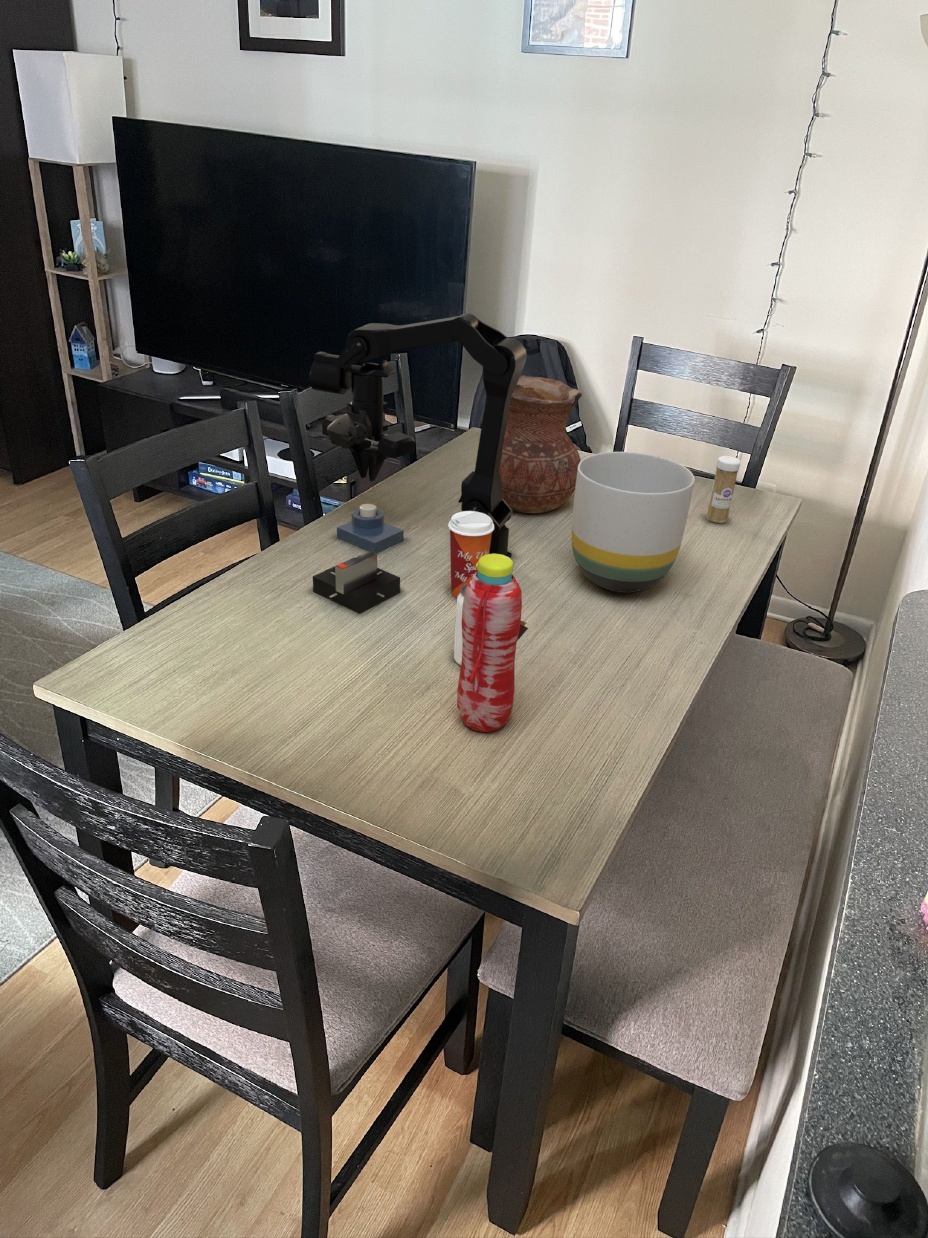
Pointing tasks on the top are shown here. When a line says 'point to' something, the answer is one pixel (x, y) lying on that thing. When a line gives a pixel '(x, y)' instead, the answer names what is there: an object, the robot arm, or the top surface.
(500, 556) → the water bottle
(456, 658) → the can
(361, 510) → the pump button
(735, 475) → the sprinkles bottle
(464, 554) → the paper cup
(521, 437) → the jug
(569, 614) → the top surface
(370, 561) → the grey block red tab
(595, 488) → the planter
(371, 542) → the blue stepped block
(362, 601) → the black dial base
